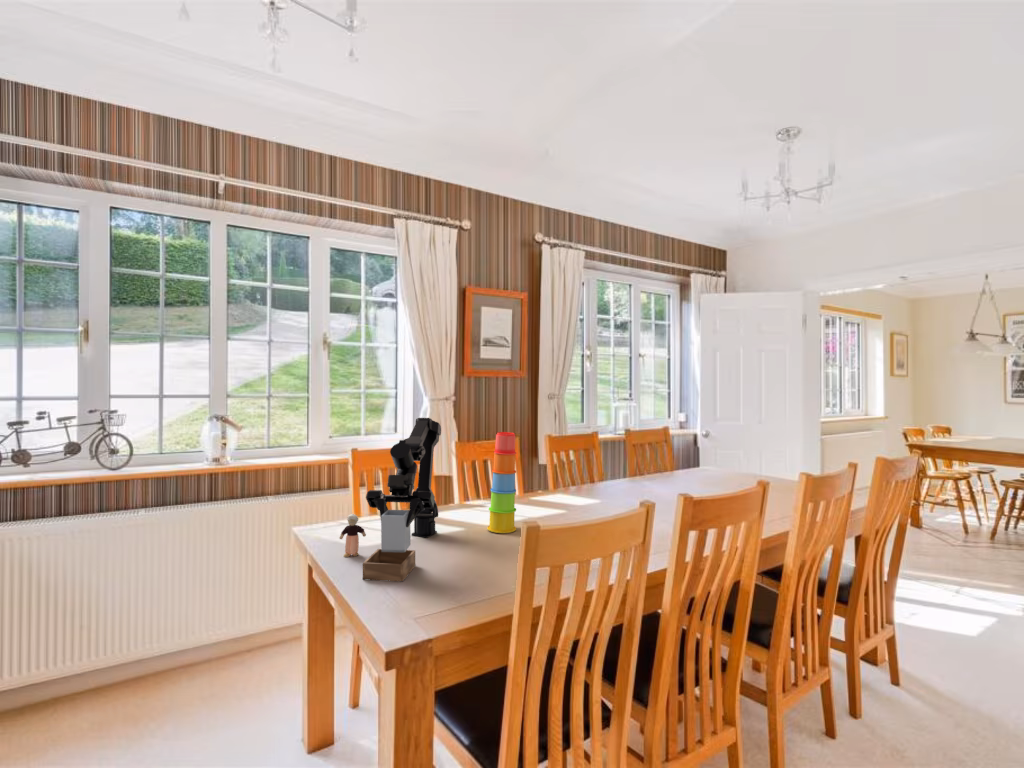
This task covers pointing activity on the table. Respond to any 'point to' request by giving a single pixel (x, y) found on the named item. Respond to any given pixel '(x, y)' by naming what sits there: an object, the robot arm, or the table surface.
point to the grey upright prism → (395, 531)
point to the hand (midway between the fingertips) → (394, 526)
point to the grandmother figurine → (352, 536)
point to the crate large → (389, 565)
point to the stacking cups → (503, 485)
